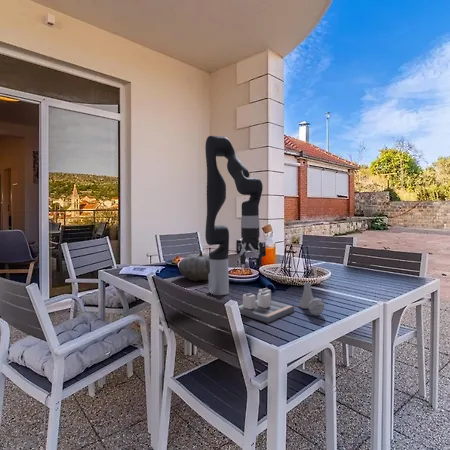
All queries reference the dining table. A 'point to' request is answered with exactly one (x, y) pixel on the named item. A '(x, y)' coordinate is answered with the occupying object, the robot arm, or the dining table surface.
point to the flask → (306, 296)
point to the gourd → (195, 267)
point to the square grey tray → (267, 311)
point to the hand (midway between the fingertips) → (250, 265)
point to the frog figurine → (316, 306)
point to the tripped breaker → (264, 300)
